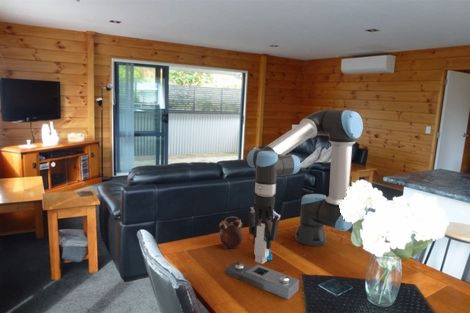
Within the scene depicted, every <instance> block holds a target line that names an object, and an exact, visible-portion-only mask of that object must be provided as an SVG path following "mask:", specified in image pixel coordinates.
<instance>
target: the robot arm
mask: <svg viewBox="0 0 470 313" xmlns="http://www.w3.org/2000/svg"><path fill="white" fill-rule="evenodd" d="M363 124H364V123H363V119H362V117H361V116H360V114H359V113H358V112H356V111H353V110H345V109H344V110H342V109H321V110H318V111H316V112H313V113H311V114H310V115H308V116H306V117H304V118H303V119H301V120H300V121H299V124H298V125H296V126H294V127H293V128H292V129H290V130H288V131H286V132H285V133H284V134H283V135H281V136H279V137H278V138H276V139H274V140H273V141H272V142H271V143H269V144H268V145H265V146H264V147H263V148H261V149H251V150H250V151H249V152H248V154H247V157H246V161H247V162H246V163H247V164H248V166H249V167H251V168H254V169H255V184H254V185H255V186H254V198H253V199H254V200H253V203H254V204H253V206H251V207H248V208H247V214H248V233H249V235H252V237H253V238H252V240H253V241H252V242H253V245H254V251H253V252H254V255H255V253H256V235H257V225H259V224H261V223H262V222H263V223H262V224H265V234H266V240H264V250H263V257H264V258H265V257H267V256H269V250H270V249H271V248H272V241H273V242H274V241H275V240H276V239H277V237H278V232H279V231H278V229H279V223H280V220H281V217H282V215H281V213H277V212H276V209H275V206H276V205H275V204H276V192H277V190H276V189H277V177H283V176H291V175H294V174H297V173H298V172H299V171H300V170H301V160H300V158H299V157H298V156H297V155H295V154H288V153H290V152H292V151H293V150H294V149H295V148H297V147H299V146H300V145H301V144H303V143H304V142H305V141H307V140H309V139H314V138H316V137H317V136H328V142H329V143H330V144H331V151H330V152H331V153H330V169H329V170H330V172H329V187H328V189H329V190H328V196H326V195H325V194H321V193H310V194H305V195H302V197H301V203H300V214H299V216H300V217H299V224H298V227H297V230H296V232H295V234H294V235H295V236H294V238H295V241H296V242H297V243H300V244H302V245H305V246H311V247H321V246H323V245H326V243H327V234H326V229H325V226H326V227H329V228H332V229H333V230H336V231H341V232H346V231H348V230H350V229H351V228H352V227H353V225H352V223H348V222H345V221H344V220H343V217H342V215H341V213H340V209H339V203H340V201H341V200H342V199H343V198H344V197H345V196H346V189H347V188H348V187H349V188H350V181H351V167H352V155H353V154H352V152H353V146H354V144H356V143H357V139H359V138H360V137H361V136H362V133H363V129H364V125H363ZM272 219H273V220H272Z"/></svg>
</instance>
